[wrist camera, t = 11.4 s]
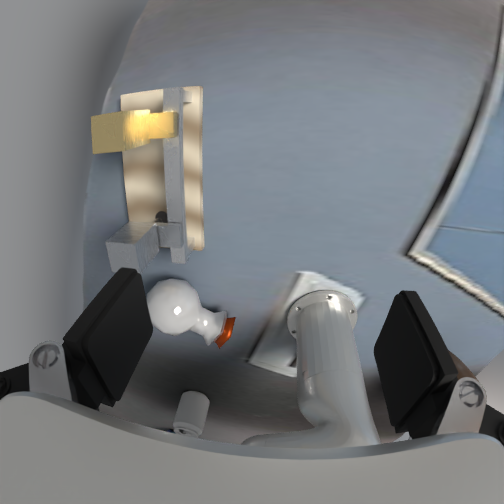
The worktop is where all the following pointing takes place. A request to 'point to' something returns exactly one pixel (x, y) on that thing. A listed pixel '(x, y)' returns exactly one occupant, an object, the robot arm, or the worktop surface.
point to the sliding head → (130, 129)
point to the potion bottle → (186, 312)
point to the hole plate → (152, 165)
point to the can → (191, 414)
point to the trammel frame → (174, 232)
